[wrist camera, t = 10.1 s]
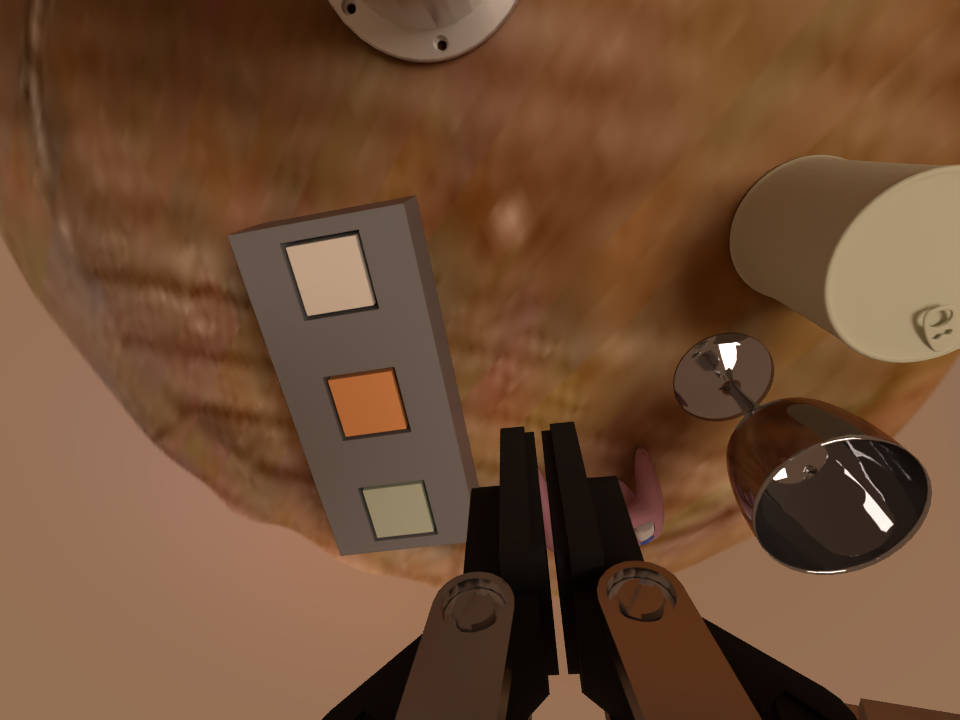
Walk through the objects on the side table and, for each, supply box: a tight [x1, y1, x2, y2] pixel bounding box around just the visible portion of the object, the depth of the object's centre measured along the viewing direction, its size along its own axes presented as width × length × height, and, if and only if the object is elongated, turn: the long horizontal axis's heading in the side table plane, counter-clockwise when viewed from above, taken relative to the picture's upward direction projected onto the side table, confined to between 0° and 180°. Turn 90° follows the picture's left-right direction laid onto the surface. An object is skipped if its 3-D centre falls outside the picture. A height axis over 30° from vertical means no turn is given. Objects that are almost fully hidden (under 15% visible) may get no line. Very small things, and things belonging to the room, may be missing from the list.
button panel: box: [228, 196, 479, 556], centre depth 38 cm, size 25×11×4 cm, turn 10°
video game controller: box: [538, 447, 664, 552], centre depth 41 cm, size 10×5×7 cm, turn 104°
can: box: [730, 155, 960, 363], centre depth 29 cm, size 9×9×12 cm
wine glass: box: [674, 333, 932, 575], centre depth 32 cm, size 8×8×15 cm
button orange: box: [328, 367, 409, 437], centre depth 38 cm, size 4×4×3 cm
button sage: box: [363, 480, 435, 538], centre depth 41 cm, size 4×4×3 cm
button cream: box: [286, 229, 377, 316], centre depth 34 cm, size 4×4×3 cm
